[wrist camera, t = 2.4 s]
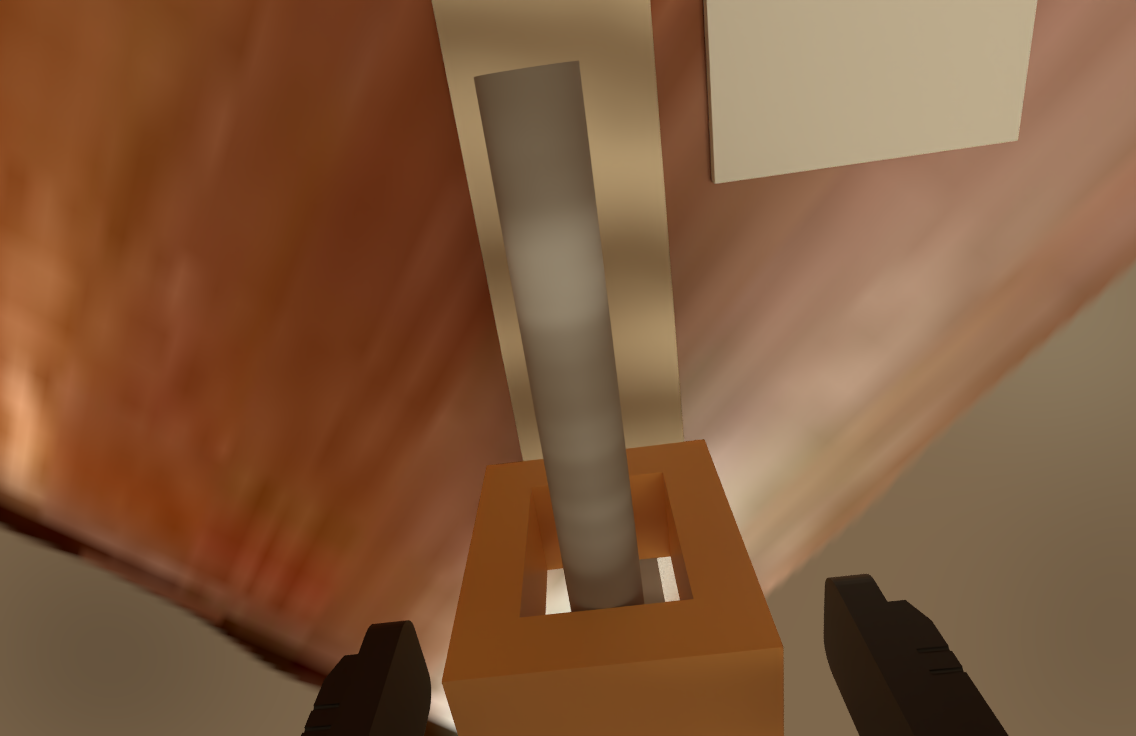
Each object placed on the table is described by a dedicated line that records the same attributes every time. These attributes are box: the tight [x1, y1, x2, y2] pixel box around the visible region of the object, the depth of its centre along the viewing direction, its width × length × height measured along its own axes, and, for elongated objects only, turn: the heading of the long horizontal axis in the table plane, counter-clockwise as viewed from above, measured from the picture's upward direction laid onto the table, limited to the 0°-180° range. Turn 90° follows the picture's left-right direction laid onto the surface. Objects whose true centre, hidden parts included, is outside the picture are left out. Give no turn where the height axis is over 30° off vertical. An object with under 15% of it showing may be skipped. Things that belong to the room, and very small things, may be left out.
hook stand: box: [432, 0, 684, 612], centre depth 18 cm, size 24×7×18 cm, turn 8°
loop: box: [442, 439, 784, 736], centre depth 14 cm, size 6×2×6 cm, turn 98°
